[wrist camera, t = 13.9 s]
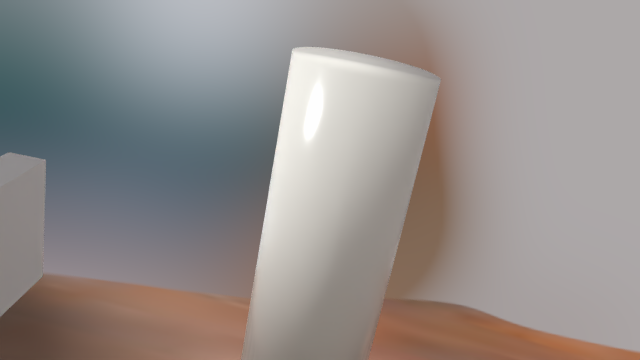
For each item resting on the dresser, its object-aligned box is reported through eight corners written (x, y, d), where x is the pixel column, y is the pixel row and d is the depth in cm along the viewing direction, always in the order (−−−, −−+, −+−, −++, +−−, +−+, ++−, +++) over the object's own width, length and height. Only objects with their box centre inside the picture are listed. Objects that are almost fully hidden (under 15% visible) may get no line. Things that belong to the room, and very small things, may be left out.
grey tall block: (204, 429, 24) (260, 45, 18) (283, 377, 28) (349, 47, 22) (293, 508, 21) (389, 86, 16) (367, 438, 25) (465, 80, 20)
